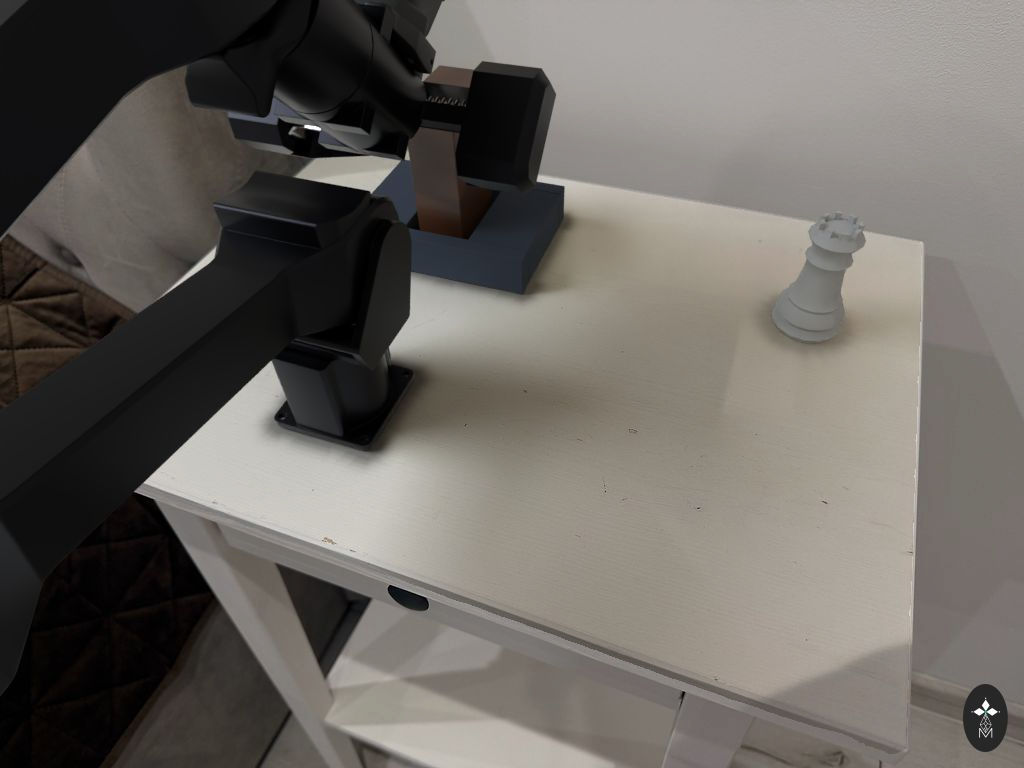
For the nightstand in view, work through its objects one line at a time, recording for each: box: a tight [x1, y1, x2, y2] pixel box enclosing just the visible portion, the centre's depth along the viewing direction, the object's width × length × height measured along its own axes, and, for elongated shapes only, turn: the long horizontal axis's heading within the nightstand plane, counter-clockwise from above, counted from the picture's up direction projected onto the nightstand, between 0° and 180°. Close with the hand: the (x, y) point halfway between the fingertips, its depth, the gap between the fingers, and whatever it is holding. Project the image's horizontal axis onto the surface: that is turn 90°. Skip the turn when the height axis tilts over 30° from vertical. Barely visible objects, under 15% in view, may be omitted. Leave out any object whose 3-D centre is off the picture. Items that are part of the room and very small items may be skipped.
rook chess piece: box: [771, 210, 867, 344], centre depth 44 cm, size 4×4×8 cm
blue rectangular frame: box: [371, 159, 566, 295], centre depth 53 cm, size 10×14×3 cm
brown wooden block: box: [407, 65, 493, 240], centre depth 50 cm, size 4×6×12 cm, turn 160°
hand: (438, 157), depth 47 cm, fingers open, 9 cm apart
